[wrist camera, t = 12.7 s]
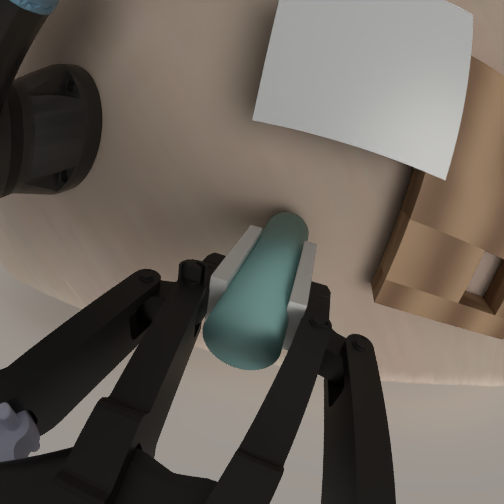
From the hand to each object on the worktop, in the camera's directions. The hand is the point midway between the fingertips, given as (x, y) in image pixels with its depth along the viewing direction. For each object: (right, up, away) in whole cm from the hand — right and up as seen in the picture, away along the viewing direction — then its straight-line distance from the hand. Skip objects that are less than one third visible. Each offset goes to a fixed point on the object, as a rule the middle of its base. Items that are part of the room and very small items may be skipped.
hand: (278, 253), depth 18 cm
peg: (+1, +2, +3) cm, 4 cm away
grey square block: (+6, +13, -1) cm, 14 cm away
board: (+18, +4, -1) cm, 18 cm away
